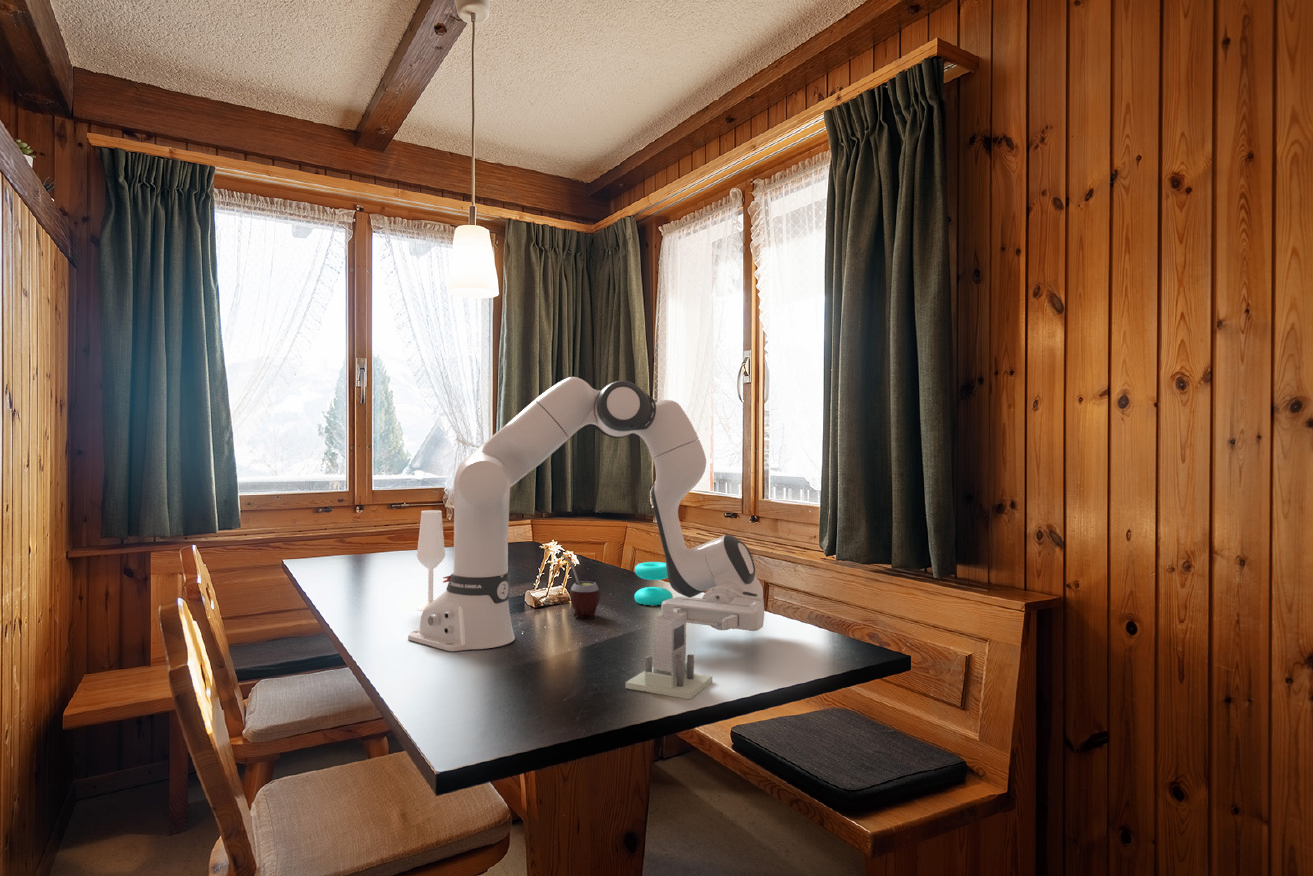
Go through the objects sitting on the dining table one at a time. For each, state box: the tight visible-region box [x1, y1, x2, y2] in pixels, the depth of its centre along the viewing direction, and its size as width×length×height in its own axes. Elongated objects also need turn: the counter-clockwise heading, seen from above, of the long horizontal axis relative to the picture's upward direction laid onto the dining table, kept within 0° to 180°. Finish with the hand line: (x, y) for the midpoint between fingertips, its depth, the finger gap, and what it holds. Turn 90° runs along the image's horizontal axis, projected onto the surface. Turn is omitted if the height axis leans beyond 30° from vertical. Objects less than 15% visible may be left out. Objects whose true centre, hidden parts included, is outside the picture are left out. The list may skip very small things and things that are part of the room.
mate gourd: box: [561, 554, 601, 620], centre depth 180 cm, size 8×8×15 cm
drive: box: [652, 611, 687, 684], centre depth 132 cm, size 3×6×11 cm, turn 154°
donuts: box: [634, 561, 674, 607], centre depth 196 cm, size 10×10×10 cm
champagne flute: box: [416, 509, 446, 612], centre depth 188 cm, size 7×7×24 cm
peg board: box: [625, 654, 713, 700], centre depth 132 cm, size 12×10×5 cm
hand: (696, 621), depth 142 cm, fingers open, 8 cm apart
